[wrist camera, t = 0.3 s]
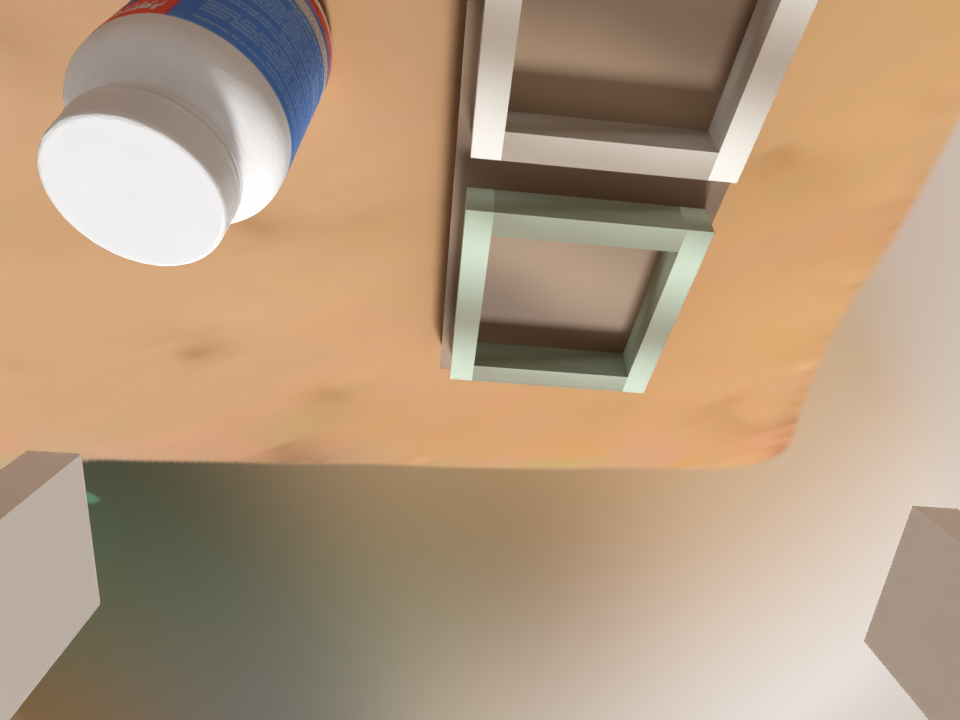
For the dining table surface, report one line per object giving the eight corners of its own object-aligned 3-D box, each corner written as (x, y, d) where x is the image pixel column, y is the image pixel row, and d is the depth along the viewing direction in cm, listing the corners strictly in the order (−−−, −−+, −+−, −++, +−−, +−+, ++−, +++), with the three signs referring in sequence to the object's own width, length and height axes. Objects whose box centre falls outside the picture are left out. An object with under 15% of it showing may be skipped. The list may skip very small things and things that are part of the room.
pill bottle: (223, -109, 18) (62, 7, 11) (368, 39, 21) (309, 202, 14) (134, 29, 21) (-38, 188, 14) (273, 143, 23) (186, 320, 17)
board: (488, -282, 15) (487, -279, 13) (879, -228, 16) (937, -217, 14) (441, 346, 31) (438, 392, 29) (637, 361, 32) (647, 407, 30)
